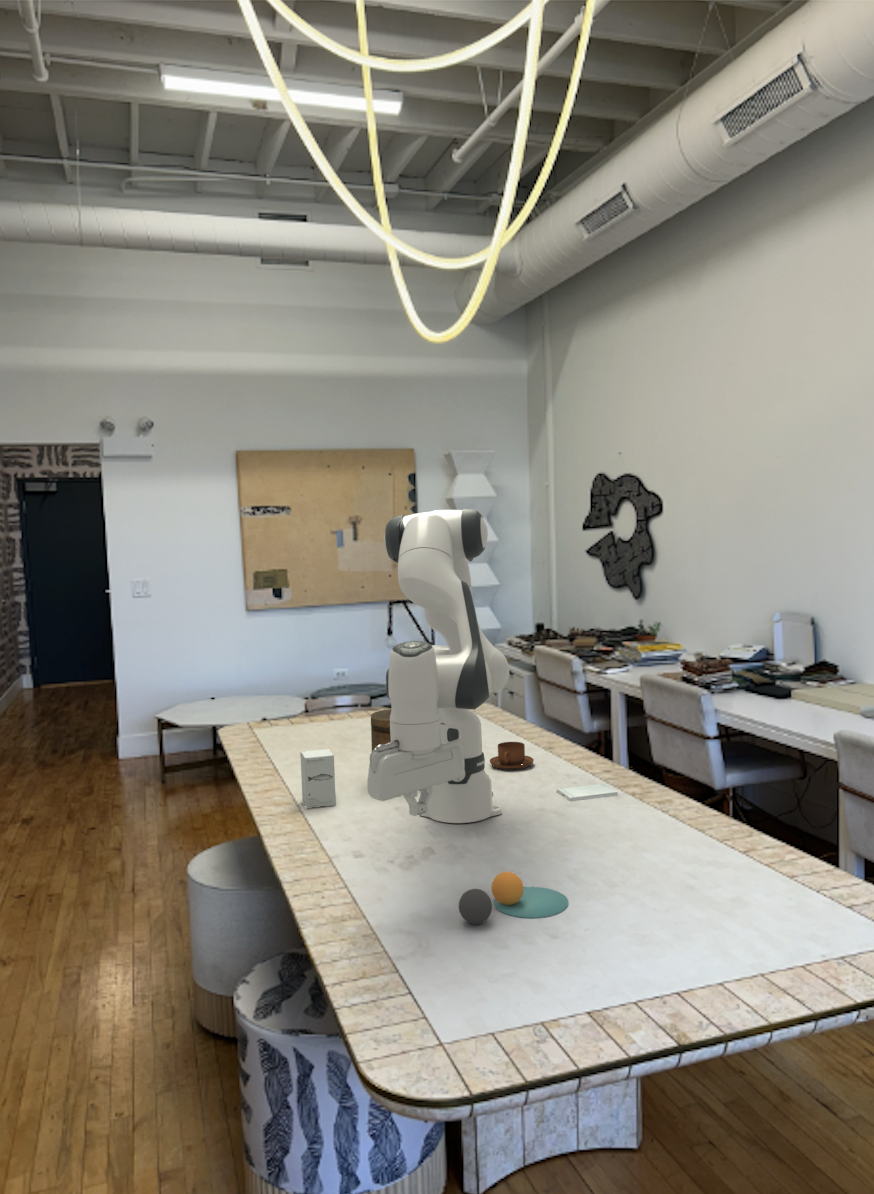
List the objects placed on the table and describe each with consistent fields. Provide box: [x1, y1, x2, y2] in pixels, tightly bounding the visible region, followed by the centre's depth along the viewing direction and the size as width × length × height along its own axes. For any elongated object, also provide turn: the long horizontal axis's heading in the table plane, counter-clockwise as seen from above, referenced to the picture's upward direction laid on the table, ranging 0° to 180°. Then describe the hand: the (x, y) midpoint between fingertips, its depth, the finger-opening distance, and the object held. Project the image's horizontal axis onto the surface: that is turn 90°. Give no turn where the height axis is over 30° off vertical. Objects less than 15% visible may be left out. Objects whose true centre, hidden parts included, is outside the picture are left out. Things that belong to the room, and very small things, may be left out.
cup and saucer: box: [489, 741, 535, 770], centre depth 253 cm, size 12×12×6 cm
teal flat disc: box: [493, 886, 569, 919], centre depth 161 cm, size 13×13×1 cm
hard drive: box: [556, 783, 618, 802], centre depth 225 cm, size 2×8×12 cm
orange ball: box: [491, 871, 525, 905], centre depth 161 cm, size 6×6×6 cm
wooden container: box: [370, 708, 392, 752], centre depth 240 cm, size 15×15×22 cm
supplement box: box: [299, 748, 337, 809], centre depth 224 cm, size 7×7×13 cm
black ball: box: [458, 888, 493, 925], centre depth 154 cm, size 6×6×6 cm
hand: (418, 813), depth 161 cm, fingers closed
